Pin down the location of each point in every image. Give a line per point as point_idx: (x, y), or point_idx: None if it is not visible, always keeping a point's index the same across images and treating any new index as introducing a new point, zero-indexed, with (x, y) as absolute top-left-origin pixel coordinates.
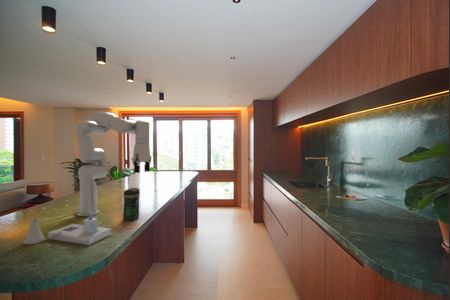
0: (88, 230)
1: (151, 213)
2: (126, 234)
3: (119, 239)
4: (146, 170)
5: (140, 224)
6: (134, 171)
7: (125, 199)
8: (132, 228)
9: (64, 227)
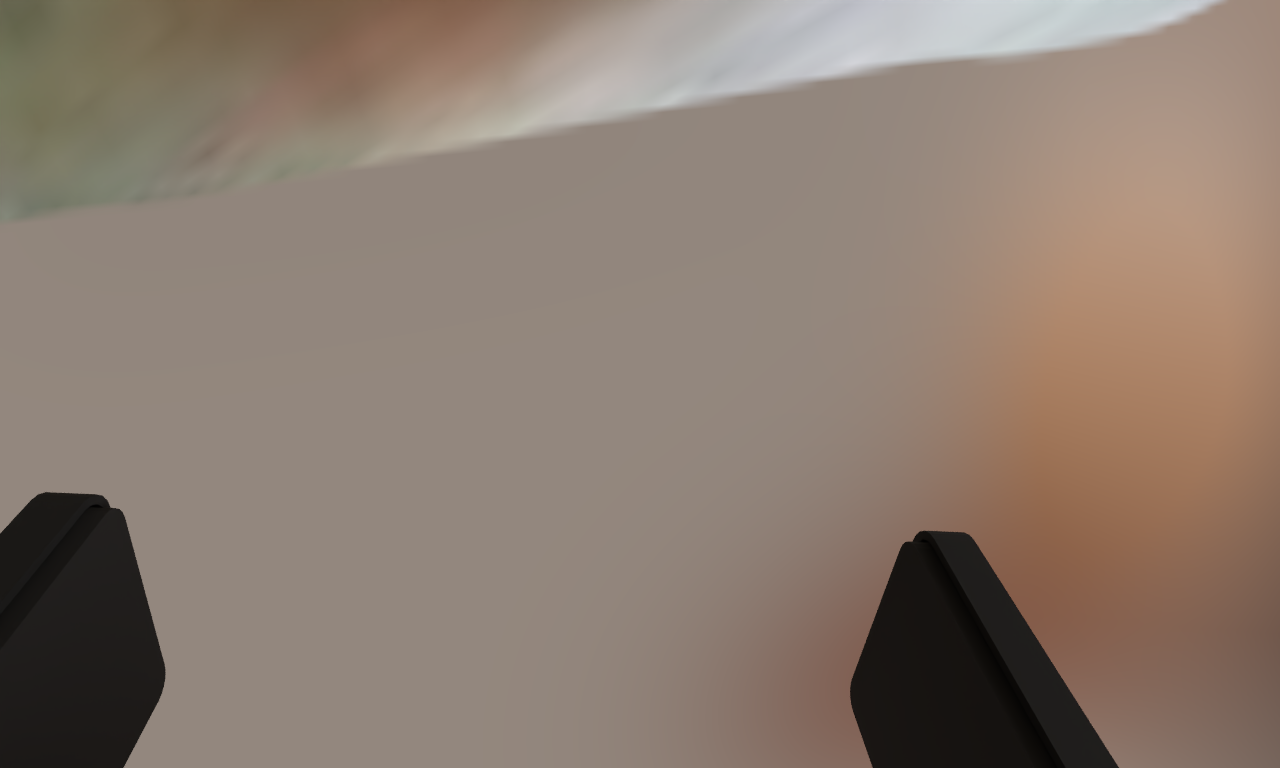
0: None
1: (989, 23)
2: (160, 139)
3: (13, 148)
4: (885, 627)
5: (505, 119)
6: (20, 542)
7: None
8: (347, 98)
9: None
